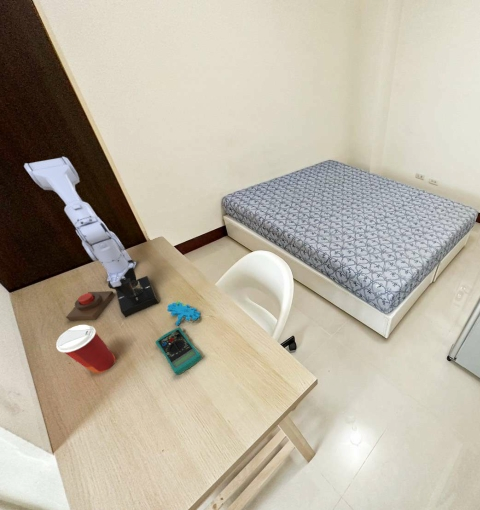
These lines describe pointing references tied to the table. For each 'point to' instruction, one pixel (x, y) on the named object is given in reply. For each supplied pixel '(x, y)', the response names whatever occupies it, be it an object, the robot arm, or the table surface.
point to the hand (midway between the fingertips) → (131, 287)
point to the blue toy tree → (183, 311)
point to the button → (86, 298)
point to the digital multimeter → (178, 350)
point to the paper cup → (86, 348)
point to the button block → (91, 307)
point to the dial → (135, 288)
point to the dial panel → (138, 299)
